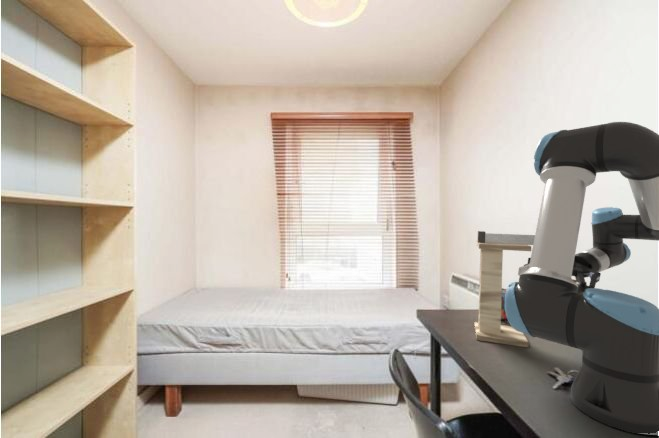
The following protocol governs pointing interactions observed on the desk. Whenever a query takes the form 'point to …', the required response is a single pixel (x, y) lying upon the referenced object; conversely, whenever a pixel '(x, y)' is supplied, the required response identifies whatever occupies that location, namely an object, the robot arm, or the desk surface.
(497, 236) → the metal block
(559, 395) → the desk surface
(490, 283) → the birch stand
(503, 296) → the multicoloured narrow piece
